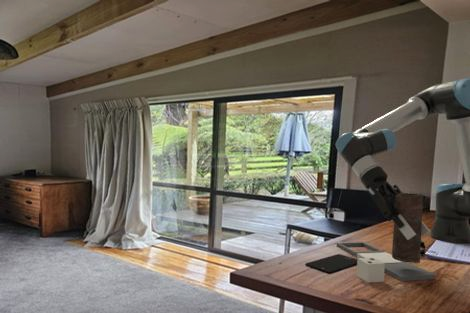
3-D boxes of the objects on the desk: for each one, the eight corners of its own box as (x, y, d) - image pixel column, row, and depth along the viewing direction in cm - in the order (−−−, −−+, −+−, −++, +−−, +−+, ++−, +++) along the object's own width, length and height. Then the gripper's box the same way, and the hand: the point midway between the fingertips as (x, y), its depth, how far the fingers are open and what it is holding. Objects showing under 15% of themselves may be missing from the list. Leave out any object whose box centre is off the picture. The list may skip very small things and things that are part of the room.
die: (372, 275, 99) (373, 257, 99) (383, 281, 94) (384, 263, 94) (356, 276, 97) (357, 257, 97) (367, 282, 93) (368, 263, 93)
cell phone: (363, 263, 110) (363, 260, 109) (329, 275, 98) (329, 272, 98) (338, 256, 116) (338, 253, 116) (304, 266, 105) (304, 263, 105)
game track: (363, 245, 130) (363, 242, 130) (435, 278, 97) (435, 274, 97) (336, 246, 128) (336, 242, 127) (401, 281, 94) (401, 276, 94)
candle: (413, 268, 95) (417, 195, 95) (386, 260, 101) (390, 192, 100) (424, 263, 100) (428, 193, 100) (398, 256, 106) (401, 190, 105)
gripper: (380, 180, 118) (426, 238, 106) (342, 181, 107) (389, 247, 94) (395, 165, 114) (446, 224, 101) (358, 165, 102) (410, 232, 89)
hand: (419, 235), depth 98 cm, fingers closed on candle, 7 cm apart
